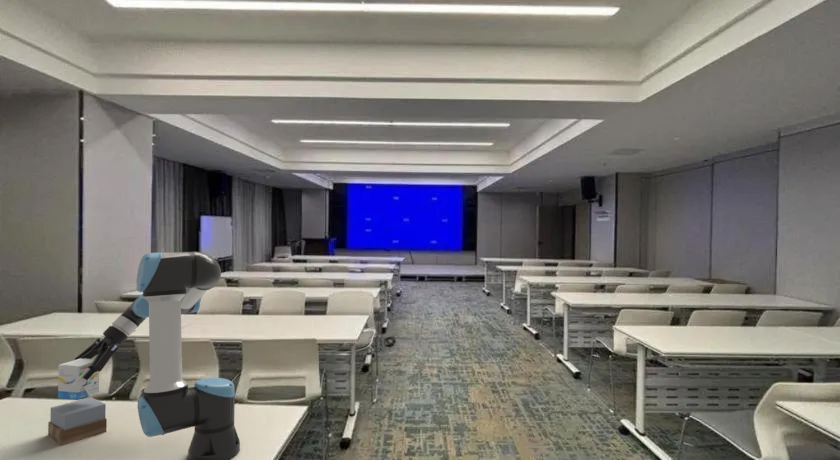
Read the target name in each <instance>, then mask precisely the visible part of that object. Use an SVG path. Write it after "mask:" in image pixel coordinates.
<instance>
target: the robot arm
mask: <svg viewBox="0 0 840 460" xmlns="http://www.w3.org/2000/svg"><path fill="white" fill-rule="evenodd" d="M136 275H137V276H136V291H137V292H139V293H142V294H140V295H139V296H137V298H136V299H134V301H133V302H132V303H131V304H130V305H129V306H128V307H127V308H126V309H125V311H123V313H121V314H120V315H119V316H118V317H117V318H116V319H115V320H114V321H112V323H111V324H112V325H109V326H108V328H106V329H105V330H104V331H103V332H102V335H103V336H104V337H103V338H102V339H101V338H97V339H96V340H95V341H94V342H93V343H92V344H91V345H90V346H88V347H87V348H86V349H84V350H83V351H82V352H81V353H80V354H78V355H77V356H76V357H75V358H74V360H77V359H85V358H86V359H93V358H95V360H94V362H93V363H92V365H91V366H89V367H88V368H87V369H86V370H85V371H84V372H83V373H82V374H81V376H80V377H79V378H78V379H77V380H76V381H75V382H74V383H73V384H72V386H74V387H76V388H77V389H80V388H81V387H82V386H83V385H84V384H85V383H86V382H87V380H88V379H89V378H90V377H91V376H92V375H93V374H94V373H95V372H97V371H99V373H100V372H102V370H103V369H104V368H105V366H106V365H107V363H108V362H109V361H110V359H111V358H112V357H113V355H114V354H115V353H116V352H117V351H118V349H119V346H121V345H122V344H123V343H124V342H125V341H126V340H127V339H128V336H131V335H132V334H133V333H135V332H136V330H137V328H138V327H139V326H140V325H141V324H142V323H143V322H144V321H145V320H146V319H147V318H148V324H149V325H148V334H149V335H148V339H149V341H148V342H149V345H148V346H149V351H148V352H149V358H148V359H149V384H148V385H147V386H146V387H145V388H144V389H143V396H140V397H139V398H138V399H137V412H138V417H139V423H140V425H141V430H142V432H143V434H144V435H145V436H146V437H148V438H152V437H157V436H161V435H162V436H164V435H167V434H170V433H173V432H178V431H181V430H185V429H189V428H193V427H194V432H193V434H192V438H191V440H190V444H189V446H188V450H187V459H188V460H229V459H232V458H234V457H235V456H236V455H238V453H239V452H240V450H241V442H240V441H241V440H240V438H239V435H238V432H237V429H236V426H235V406H236V405H235V399H236V392H235V391H236V390H235V384H234V383H233V381H231V380H229V379H227V378H223V377H206V378H200V379H198V380H196V381H195V383H194V384H193V385H194V386H192V387H189V386H188V385H189V383H188V382H187V381H186V380H185V379H184V378H183V355H182V353H183V352H182V350H183V349H182V345H183V344H182V314H183V315H184V314H192V313H196V312H198V311H199V310H200V307H201V298H202V297H203V295H204V294H206V292H207V291H209V290H211V289H213V288H214V287H215V286H216V285H218V283H219V281H220V280H221V275H222V270H221V266H220V264H219V262H218V261H217V260H216V259H215V258H214V257H212V256H211V255H209V254H207V253H205V252H200V251H166V252H165V251H159V252H157V251H156V252H150V253H149V252H148V253H146V254H144V255H142V257H141V259H140V262H139V265H138V269H137V274H136Z"/></svg>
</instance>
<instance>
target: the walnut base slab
mask: <svg viewBox="0 0 840 460" xmlns="http://www.w3.org/2000/svg"><path fill="white" fill-rule="evenodd" d="M107 421H108V420H107V418H106V417H105V418H104V419H101V420H98V421H94V422H91V423H88V424H84V425H81V426H78V427H74V428H71V429H68V430H63V429H61V428H60V427H58V426H56V425H55V424H53V423H51V422H50V421H48V423H47V424H48V425H47V426H48V427H47V431H48V432H47V434H48V436H49V437H50V438H51V439H52V440H53V441H55V442H56V443H57V444H58V445H60V446H61V447H63V446H64V445H68V444H71V443H75V442H78V441H80V440H81V441H82V440H83V439H87V438H90V437H94V436H97V435H101V434H104V433H107V427H108V426H107V423H108V422H107Z"/></svg>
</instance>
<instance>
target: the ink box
mask: <svg viewBox="0 0 840 460" xmlns="http://www.w3.org/2000/svg"><path fill="white" fill-rule="evenodd" d="M94 360H95V359H93V358H91V359H86V358H85V359H77V360H75V359H74V360H70V361H67V362H64V363H60V364H58V372H57V373H58V377H57V378H58V379H57V380H58V381H57V382H58V383H57V384H58V385H57V398H58V399H65V400H73V401H74V400H75V401H78V400H82V399H85V398H88V397H90V396H91V395H95V394H96V393H97V394H98V393H99V392H100V372H99V371H97V372H95V373H94V374H93V375H92V376H91V377H90V378H89V379H88V380H87V382H86V383H85V384H84V385H83V386H82V387H81V388H80V389H77V388H76V387H74V386H72V384H73V383H74V382H75V381H76V380H77V379H78V378H79V377H80V376H81V374H82V373H83V372H84V371H85V370H86V369H87V368H88V367H89V366H91V365H92V363H93V362H94Z"/></svg>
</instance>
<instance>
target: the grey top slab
mask: <svg viewBox="0 0 840 460" xmlns="http://www.w3.org/2000/svg"><path fill="white" fill-rule="evenodd" d="M106 409H107V407H106V403H104V402H102V401H100V400H97V399H96V398H93V397H91V396H88V397H84V398H81V399H79V400H75V401H74V400H73V401H70V402H66V403H64V404H63V403H62V404H60V405H59V404H58V405H56V406H52V407H50V421H49V422H51V423H53V424H55V425H56V426H58V427H60V428H61V429H63V430H68V429H71V428H74V427H78V426H81V425H84V424H88V423H91V422H94V421H98V420H101V419H104V418H106Z"/></svg>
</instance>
